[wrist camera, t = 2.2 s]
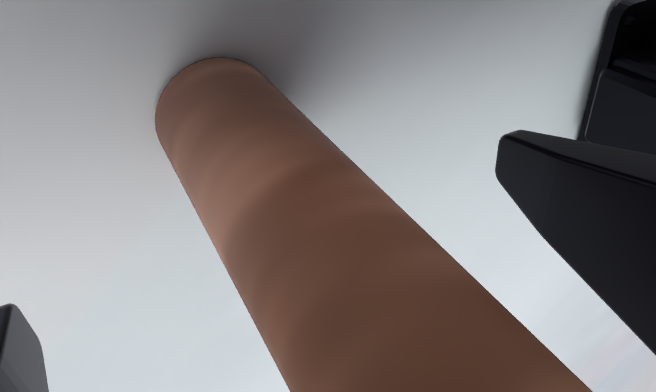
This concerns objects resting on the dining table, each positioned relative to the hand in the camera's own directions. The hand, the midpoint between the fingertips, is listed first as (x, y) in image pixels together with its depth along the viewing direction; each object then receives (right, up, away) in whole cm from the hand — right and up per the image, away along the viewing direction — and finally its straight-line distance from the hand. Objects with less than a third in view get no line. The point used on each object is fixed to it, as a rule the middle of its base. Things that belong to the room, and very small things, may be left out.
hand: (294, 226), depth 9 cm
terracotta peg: (-2, +2, +4) cm, 5 cm away
